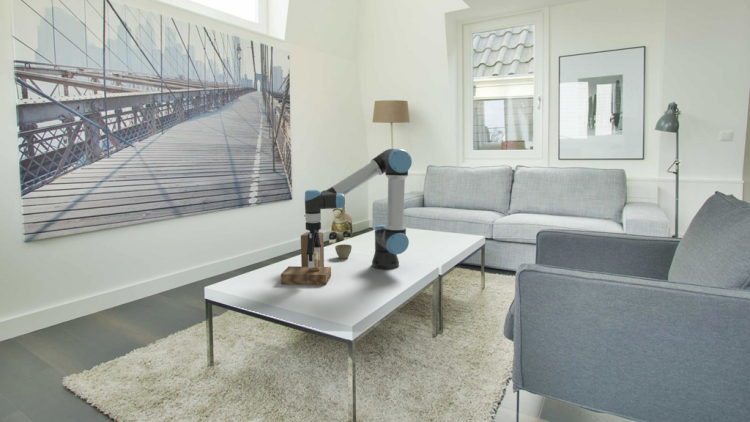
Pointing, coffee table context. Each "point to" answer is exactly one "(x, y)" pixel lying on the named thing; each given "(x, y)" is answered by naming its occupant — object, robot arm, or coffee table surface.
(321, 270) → the board
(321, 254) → the block
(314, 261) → the peg
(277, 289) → the coffee table surface
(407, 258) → the coffee table surface
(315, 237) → the robot arm
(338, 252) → the flower pot
